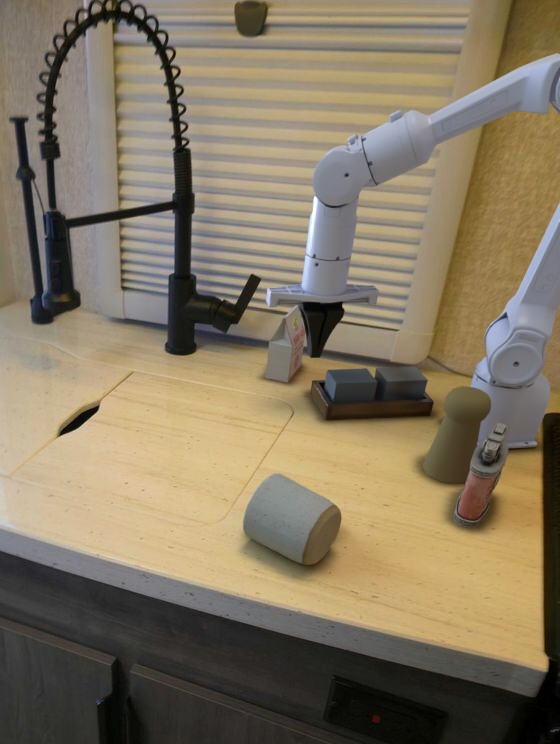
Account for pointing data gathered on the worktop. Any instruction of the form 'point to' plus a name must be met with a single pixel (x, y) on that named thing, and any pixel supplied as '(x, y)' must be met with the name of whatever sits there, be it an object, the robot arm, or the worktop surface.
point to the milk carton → (286, 348)
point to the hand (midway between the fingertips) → (313, 355)
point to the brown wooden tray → (381, 397)
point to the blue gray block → (350, 385)
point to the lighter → (482, 478)
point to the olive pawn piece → (457, 435)
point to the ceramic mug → (291, 519)
